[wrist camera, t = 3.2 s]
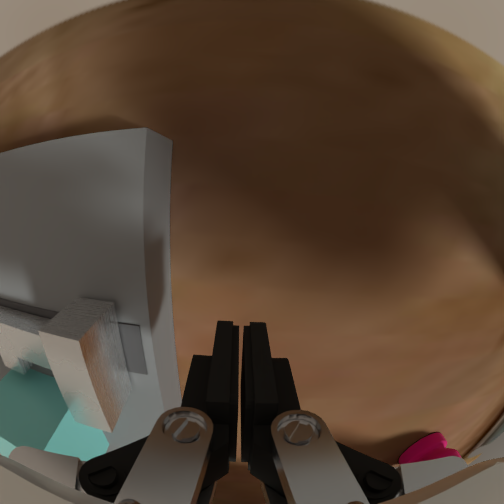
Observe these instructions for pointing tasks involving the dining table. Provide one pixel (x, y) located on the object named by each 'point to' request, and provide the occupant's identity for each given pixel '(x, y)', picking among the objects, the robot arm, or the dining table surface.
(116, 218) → the base
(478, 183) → the dining table surface
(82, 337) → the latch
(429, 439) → the pepper mill
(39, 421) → the cube block
